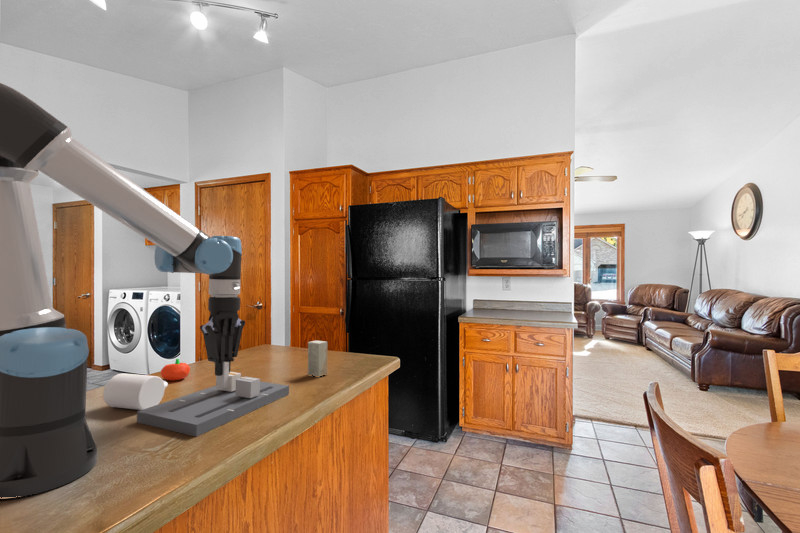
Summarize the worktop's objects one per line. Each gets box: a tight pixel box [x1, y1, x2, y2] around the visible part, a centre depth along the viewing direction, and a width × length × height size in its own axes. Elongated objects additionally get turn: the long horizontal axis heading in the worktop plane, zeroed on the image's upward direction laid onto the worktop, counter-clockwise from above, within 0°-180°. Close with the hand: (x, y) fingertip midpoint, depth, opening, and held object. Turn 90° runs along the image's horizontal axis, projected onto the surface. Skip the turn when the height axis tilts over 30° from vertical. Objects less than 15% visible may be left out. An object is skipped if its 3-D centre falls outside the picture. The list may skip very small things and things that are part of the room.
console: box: [136, 380, 290, 437], centre depth 96 cm, size 30×19×2 cm, turn 159°
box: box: [307, 340, 328, 377], centre depth 127 cm, size 5×4×11 cm
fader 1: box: [217, 371, 242, 392], centre depth 102 cm, size 3×5×4 cm
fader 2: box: [235, 376, 261, 398], centre depth 97 cm, size 3×5×4 cm
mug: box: [102, 372, 169, 411], centre depth 97 cm, size 12×10×8 cm
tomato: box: [160, 358, 191, 382], centre depth 119 cm, size 7×8×6 cm
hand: (222, 387), depth 100 cm, fingers closed
